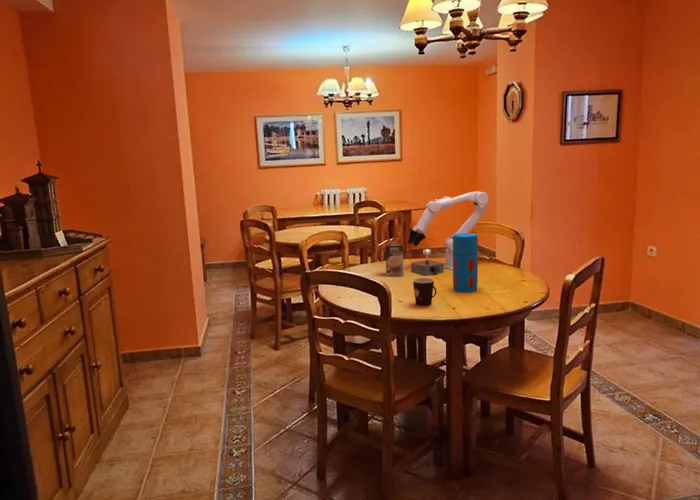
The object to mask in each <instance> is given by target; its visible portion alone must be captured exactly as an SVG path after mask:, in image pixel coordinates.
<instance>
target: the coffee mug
mask: <svg viewBox="0 0 700 500" xmlns="http://www.w3.org/2000/svg"><path fill="white" fill-rule="evenodd" d="M434 282H435V280H434V279H433V278H430V277H417V278H413V279H412V284H413V291H414V299H415V304H416V305H417V306H419V307H428V306H431V305H432V302H433V298H434V297H435V296H436V295H437V288H436V287H435V286H434ZM433 292H434V294H433Z"/></svg>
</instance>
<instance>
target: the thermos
mask: <svg viewBox="0 0 700 500" xmlns="http://www.w3.org/2000/svg"><path fill="white" fill-rule="evenodd" d="M453 234H454V235H453ZM453 234H452V235H453V269H452V287H453V288H452V289H453V291H454V292H456V293H463V294H466V293H474V292H477V291H478V275H479V273H478V270H479V269H478V268H479V267H478V263H479V262H478V261H479V258H478V257H479V253H478V251H479V249H478V248H479V247H478V246H479V241H478V234H476V233H472V232H471V233H470V232H469V233H459V234H455V233H453Z"/></svg>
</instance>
